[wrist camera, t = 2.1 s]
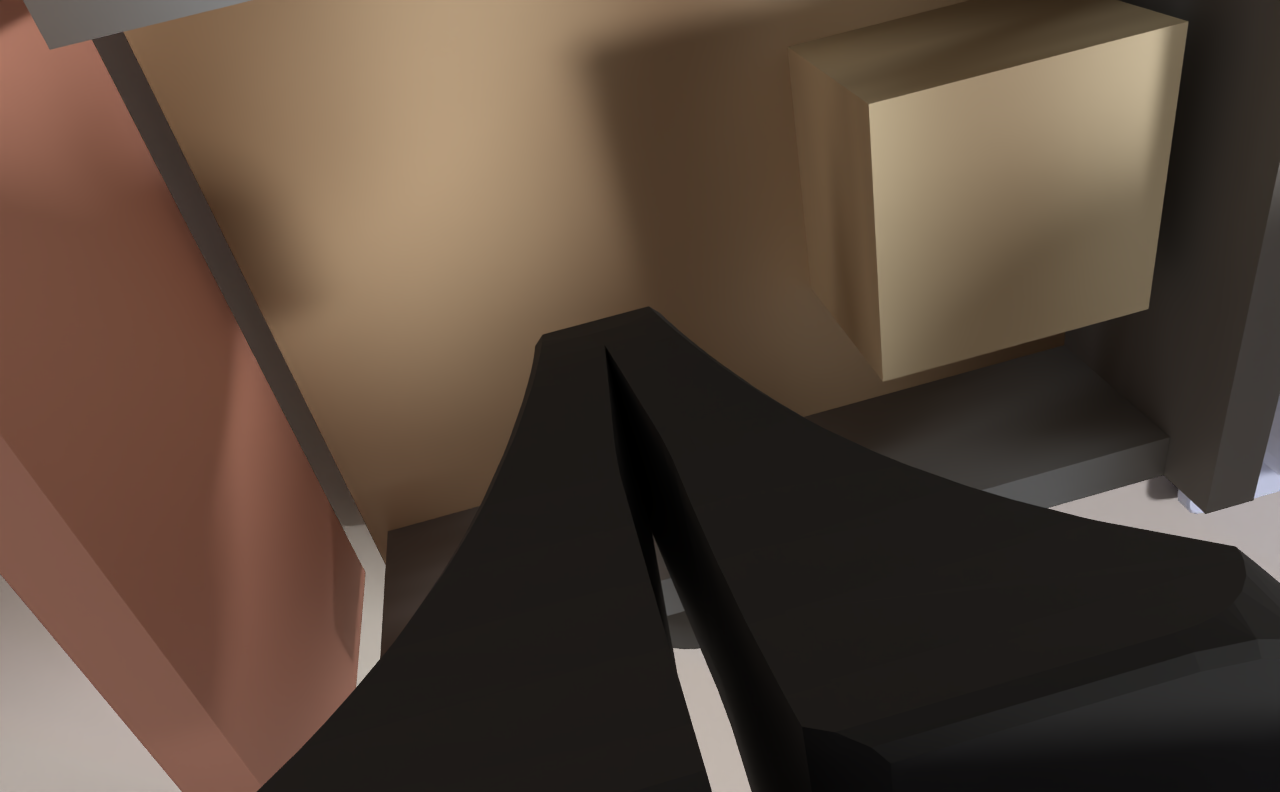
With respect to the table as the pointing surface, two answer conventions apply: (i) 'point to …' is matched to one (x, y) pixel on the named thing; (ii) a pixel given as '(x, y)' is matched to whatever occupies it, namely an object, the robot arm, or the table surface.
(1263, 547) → the table surface
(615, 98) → the trailer
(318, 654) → the panel
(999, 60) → the beige square block
